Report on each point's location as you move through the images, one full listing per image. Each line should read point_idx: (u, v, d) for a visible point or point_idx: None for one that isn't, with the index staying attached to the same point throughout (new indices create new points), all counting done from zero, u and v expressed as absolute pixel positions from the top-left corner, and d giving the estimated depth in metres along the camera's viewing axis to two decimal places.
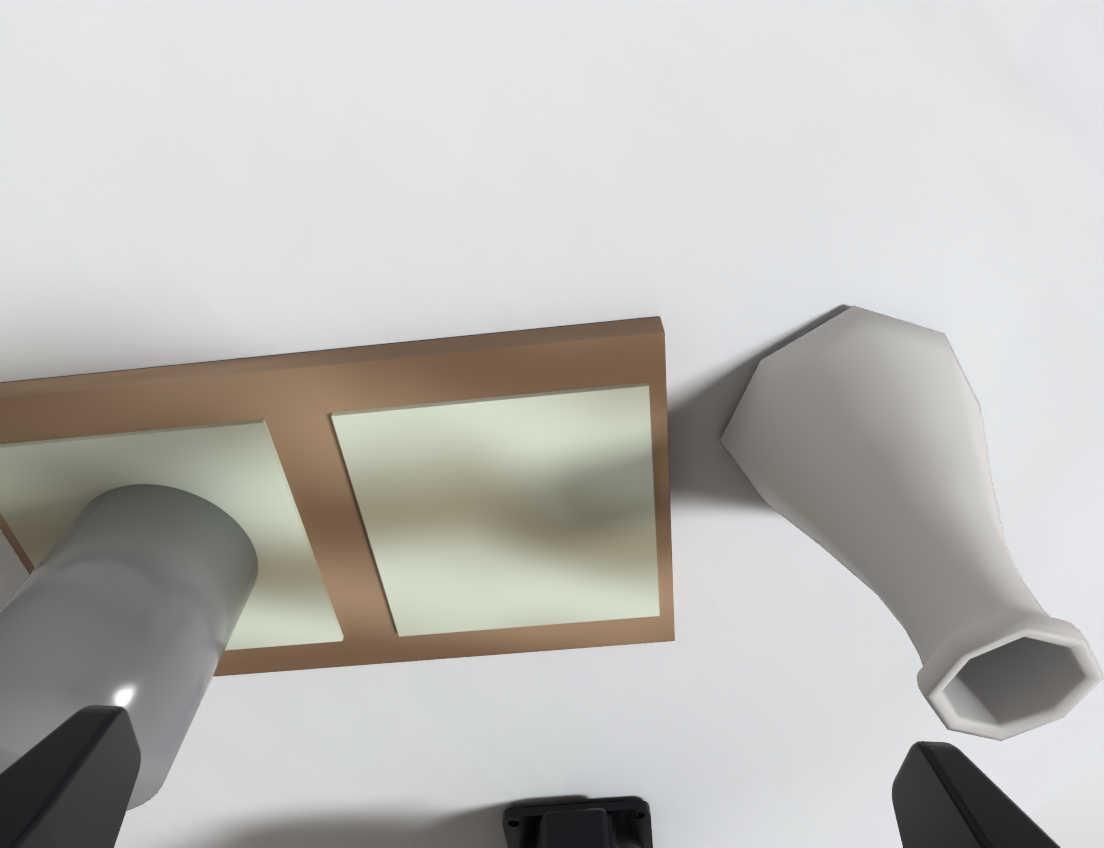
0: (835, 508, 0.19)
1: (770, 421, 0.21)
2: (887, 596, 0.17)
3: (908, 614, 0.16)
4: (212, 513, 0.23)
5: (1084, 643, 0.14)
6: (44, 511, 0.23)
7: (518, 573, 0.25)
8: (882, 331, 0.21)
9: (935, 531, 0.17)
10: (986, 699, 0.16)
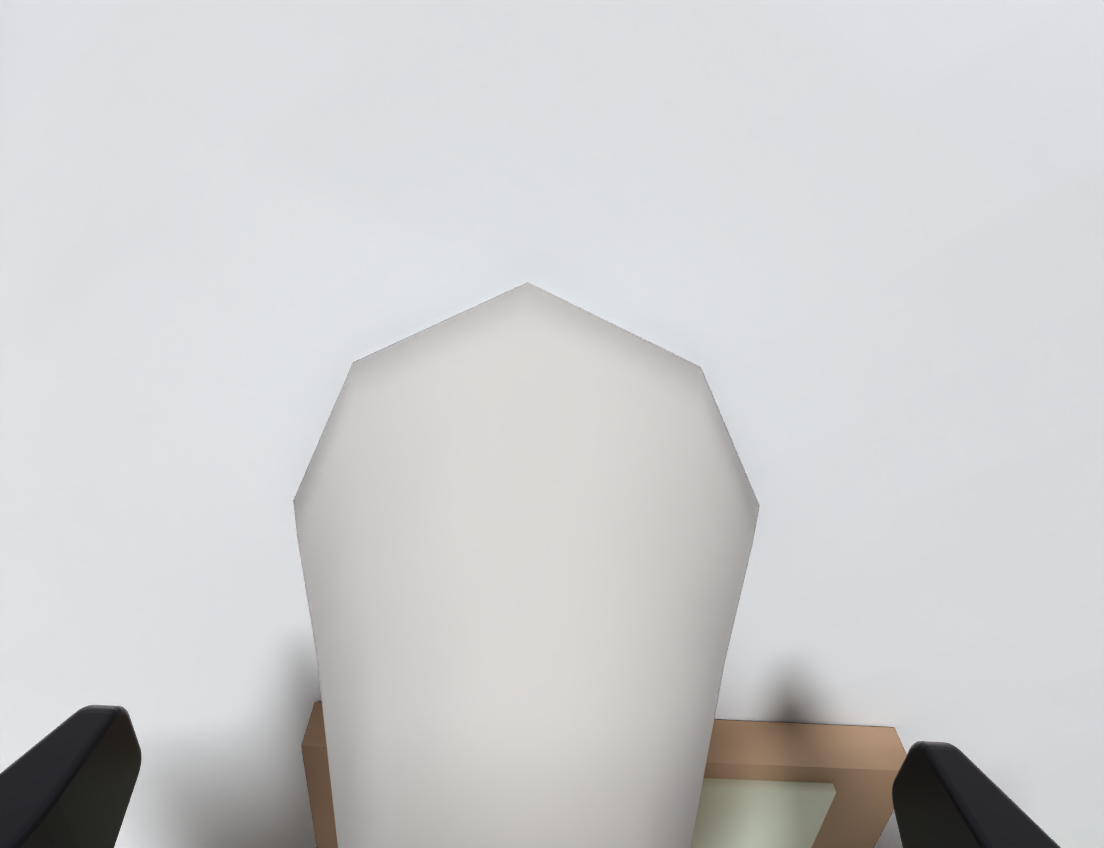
0: None
1: None
2: None
3: None
4: None
5: None
6: None
7: None
8: (309, 501, 0.12)
9: None
10: None
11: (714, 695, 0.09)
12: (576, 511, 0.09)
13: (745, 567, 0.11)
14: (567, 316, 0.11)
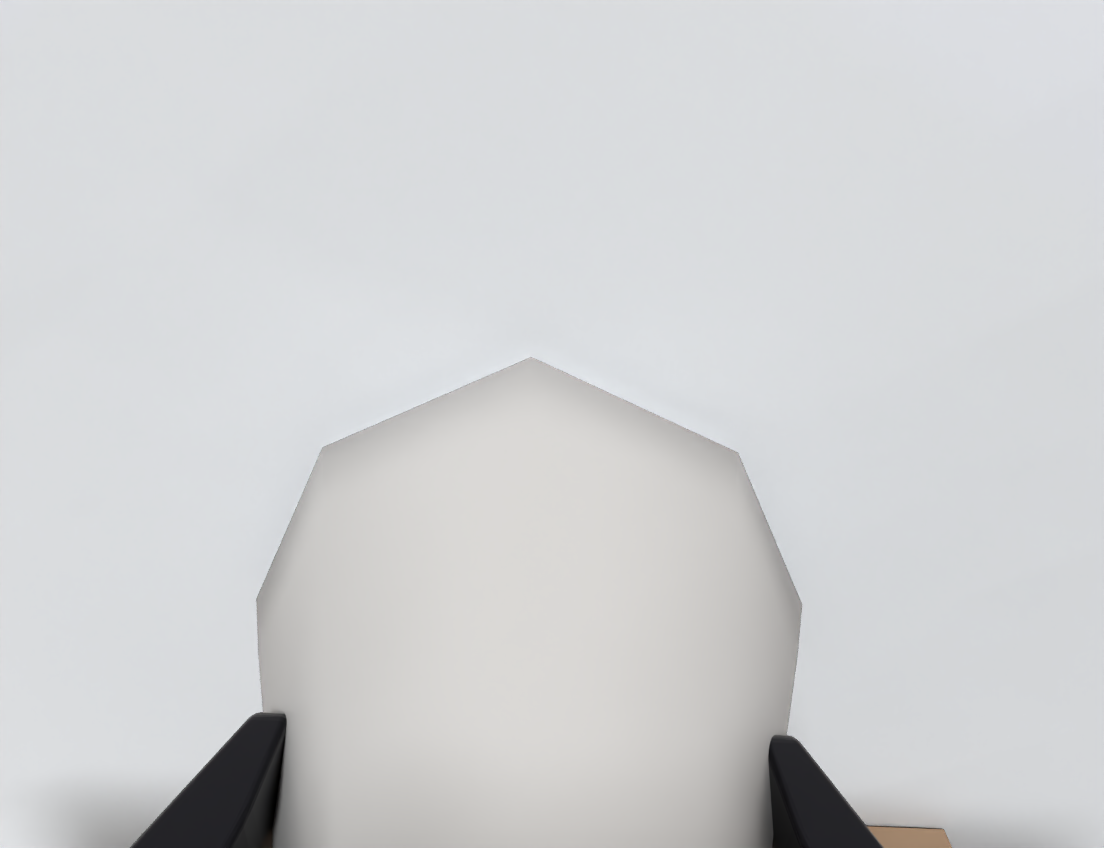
0: None
1: None
2: None
3: None
4: None
5: None
6: None
7: None
8: (271, 609, 0.10)
9: None
10: None
11: None
12: (592, 665, 0.07)
13: (791, 691, 0.09)
14: (579, 397, 0.09)
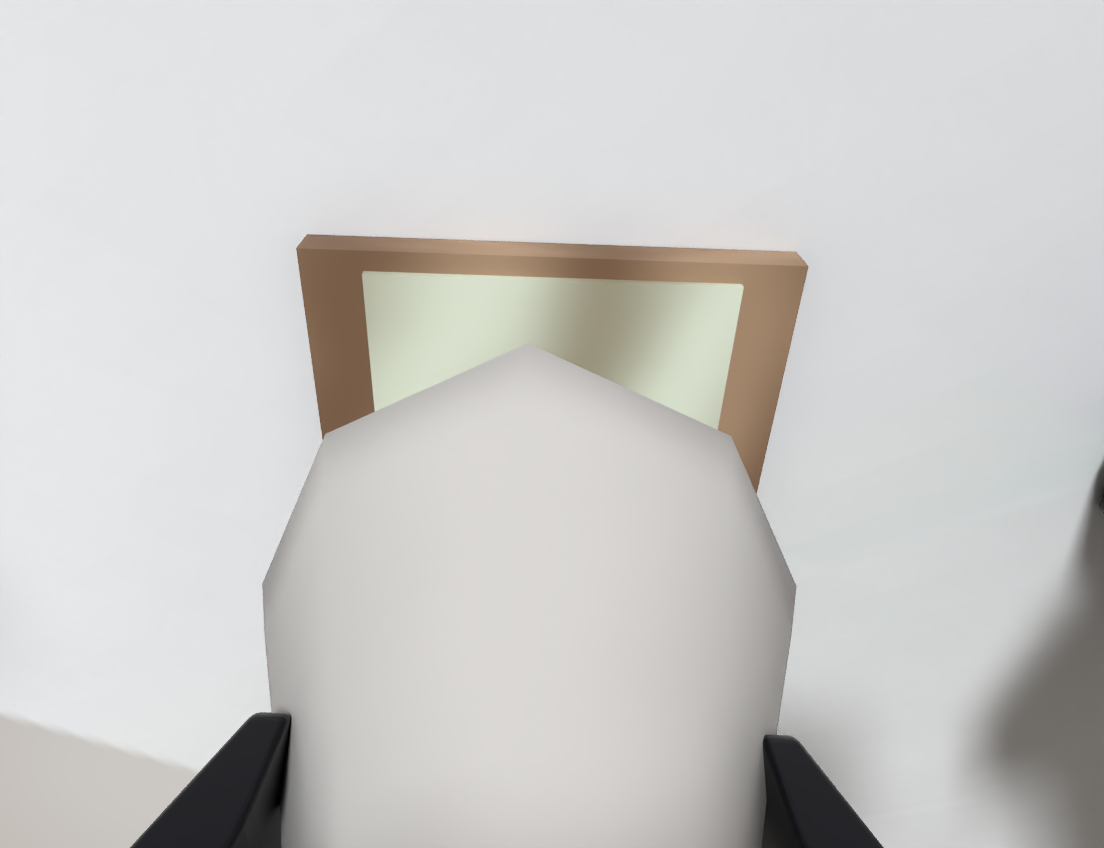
0: None
1: None
2: None
3: None
4: None
5: None
6: None
7: None
8: (277, 592, 0.10)
9: None
10: None
11: None
12: (588, 637, 0.07)
13: (784, 669, 0.10)
14: (574, 383, 0.09)
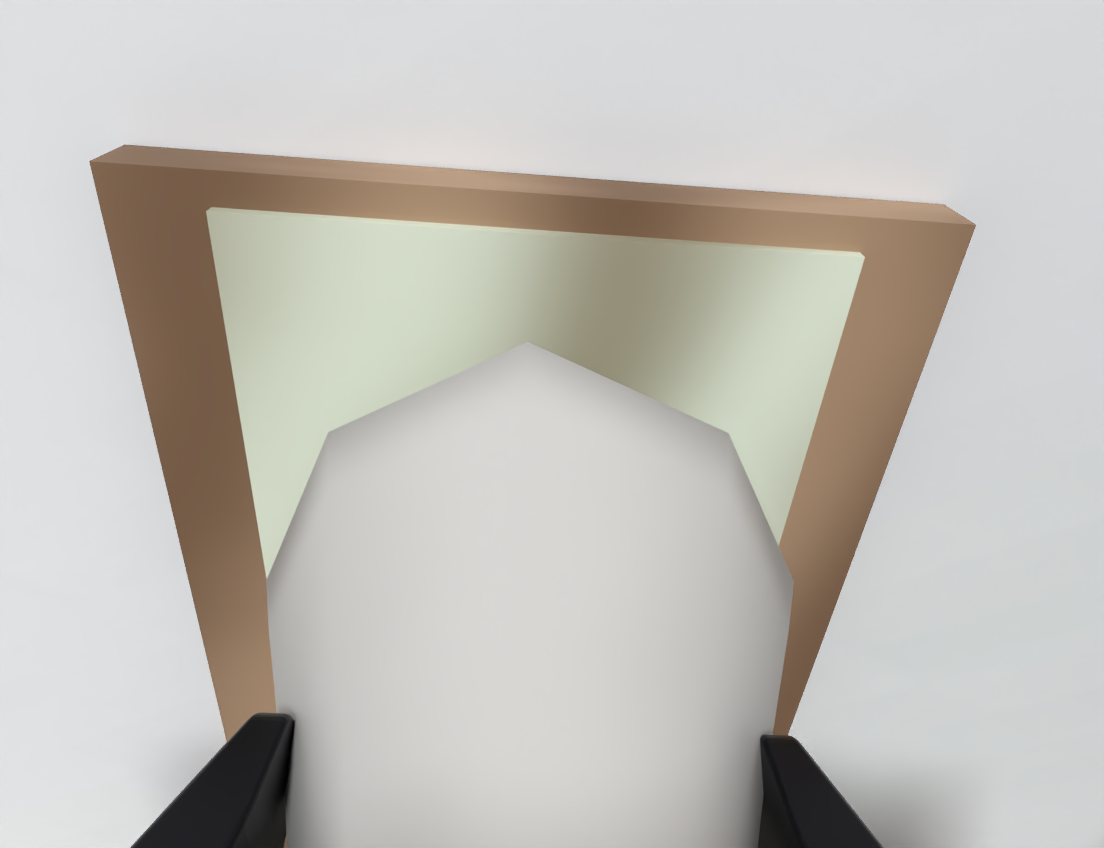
0: None
1: None
2: None
3: None
4: None
5: None
6: None
7: None
8: (280, 588, 0.10)
9: None
10: None
11: (754, 841, 0.08)
12: (587, 631, 0.07)
13: (782, 663, 0.10)
14: (574, 381, 0.09)
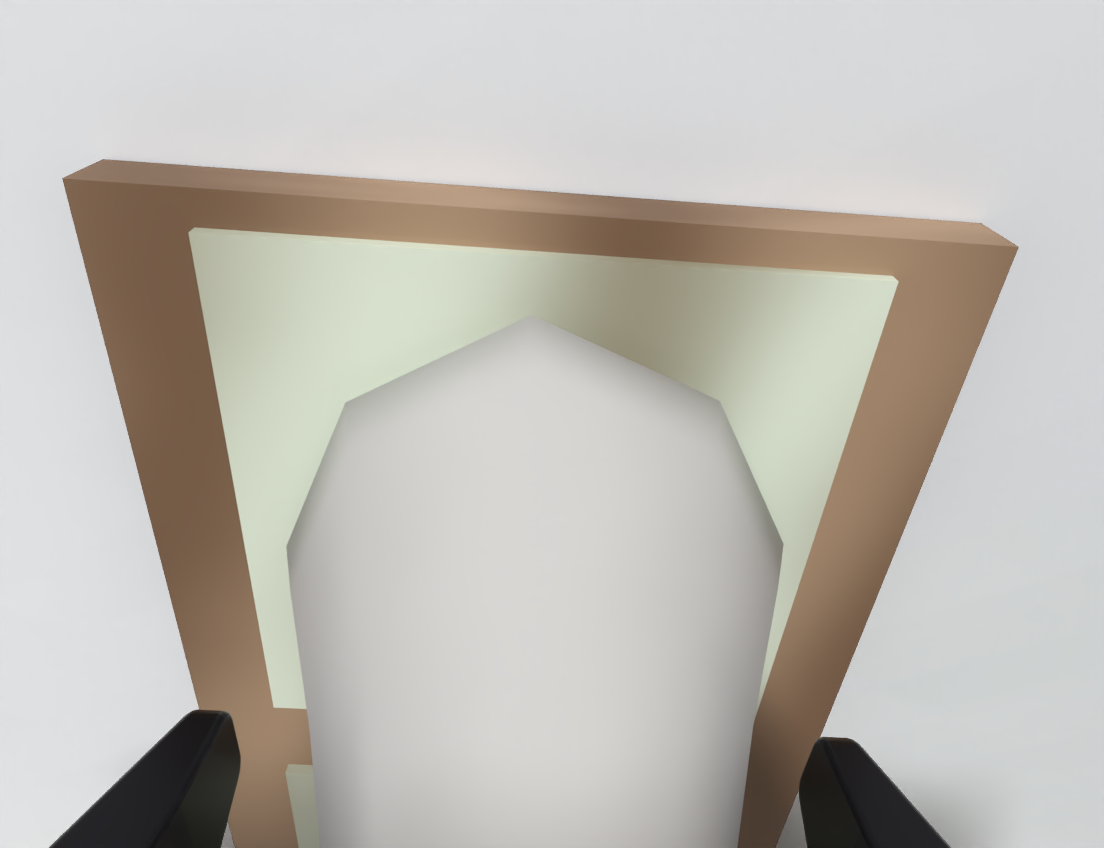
0: None
1: None
2: None
3: None
4: None
5: None
6: None
7: None
8: (301, 550, 0.11)
9: None
10: None
11: (743, 769, 0.08)
12: (589, 572, 0.08)
13: (771, 616, 0.10)
14: (575, 351, 0.10)
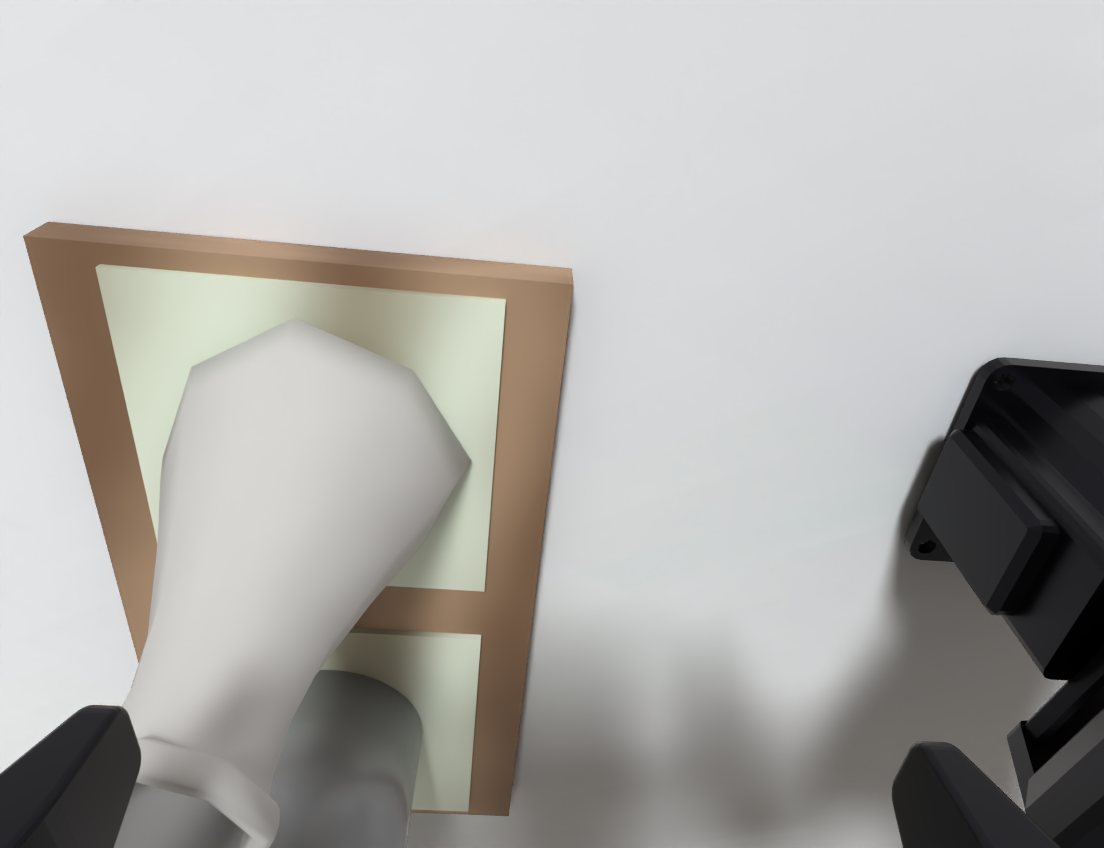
0: None
1: None
2: None
3: None
4: None
5: None
6: None
7: None
8: (166, 455, 0.18)
9: None
10: (268, 788, 0.12)
11: (386, 561, 0.16)
12: (296, 452, 0.15)
13: (441, 495, 0.18)
14: (319, 339, 0.17)
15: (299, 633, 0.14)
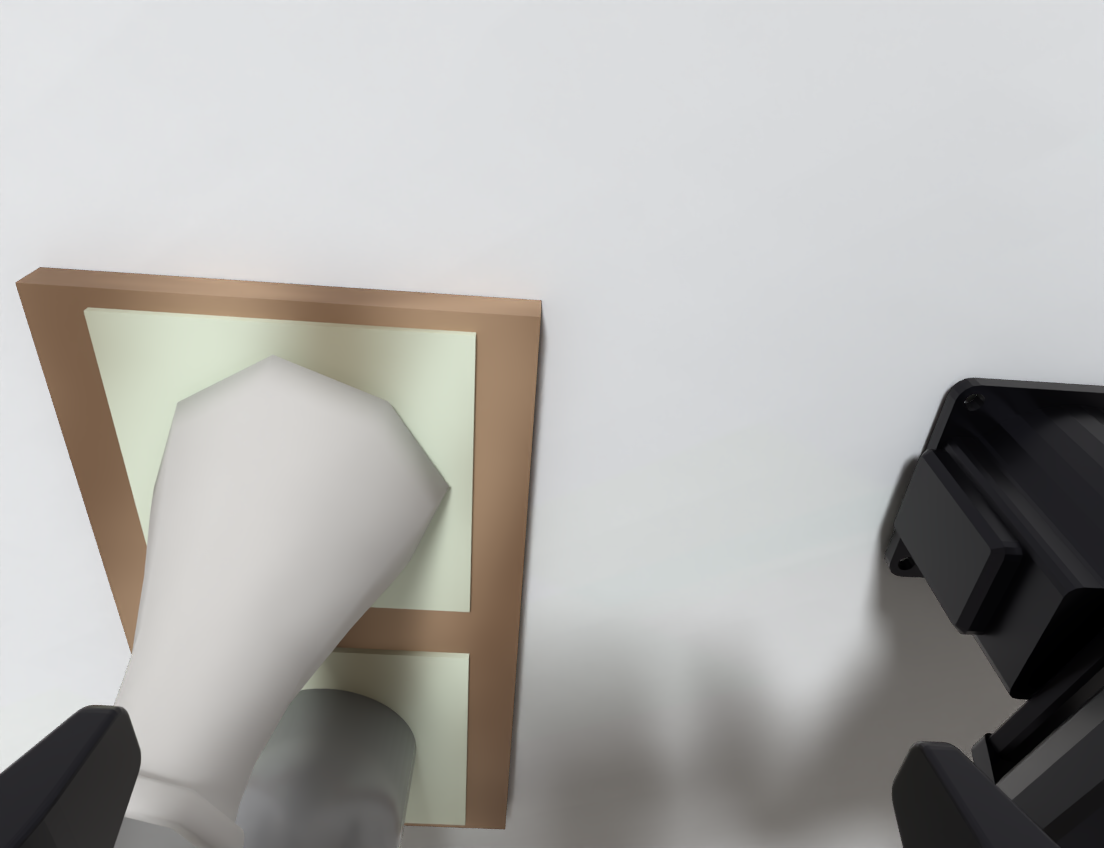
0: None
1: None
2: None
3: None
4: None
5: None
6: None
7: None
8: (156, 487, 0.19)
9: None
10: (235, 815, 0.12)
11: (360, 590, 0.17)
12: (271, 487, 0.16)
13: (418, 523, 0.19)
14: (297, 374, 0.18)
15: (270, 663, 0.14)
